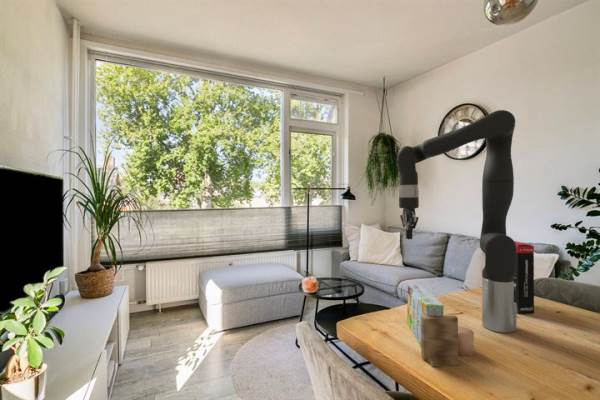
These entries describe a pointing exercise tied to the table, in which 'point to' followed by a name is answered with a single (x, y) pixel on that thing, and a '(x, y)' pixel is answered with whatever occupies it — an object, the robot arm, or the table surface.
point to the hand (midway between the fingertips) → (409, 238)
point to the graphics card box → (524, 278)
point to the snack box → (421, 307)
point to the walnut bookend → (440, 340)
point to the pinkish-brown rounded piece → (465, 341)
